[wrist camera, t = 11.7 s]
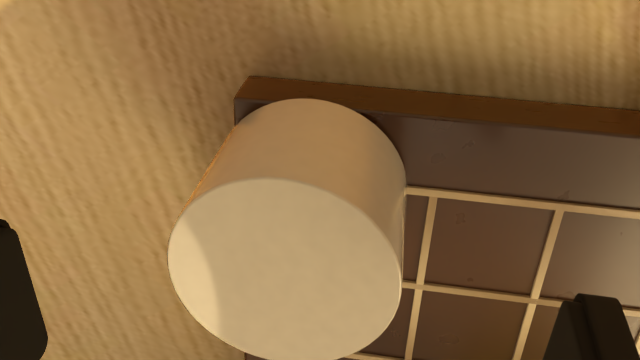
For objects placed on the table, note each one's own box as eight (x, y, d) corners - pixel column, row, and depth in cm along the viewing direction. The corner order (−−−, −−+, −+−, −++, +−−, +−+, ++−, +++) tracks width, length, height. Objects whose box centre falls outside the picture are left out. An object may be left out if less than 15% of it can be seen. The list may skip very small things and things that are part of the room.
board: (247, 74, 16) (230, 99, 14) (930, 135, 14) (984, 171, 13) (259, 455, 24) (249, 493, 23) (686, 523, 22) (702, 569, 21)
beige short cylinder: (211, 88, 14) (153, 164, 11) (418, 107, 14) (415, 193, 11) (222, 250, 17) (177, 348, 14) (397, 271, 16) (390, 378, 13)
